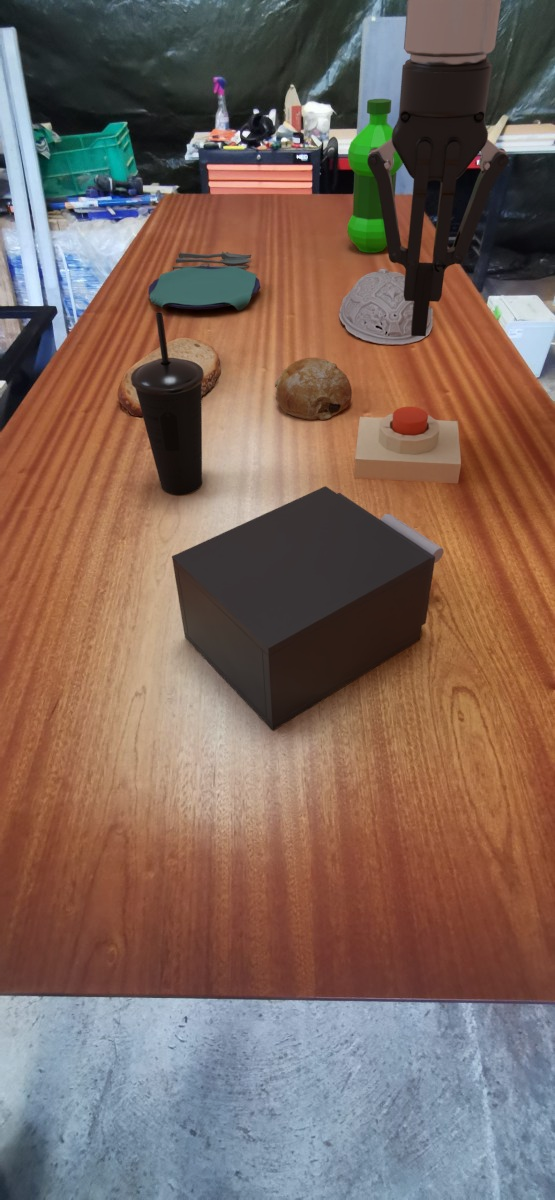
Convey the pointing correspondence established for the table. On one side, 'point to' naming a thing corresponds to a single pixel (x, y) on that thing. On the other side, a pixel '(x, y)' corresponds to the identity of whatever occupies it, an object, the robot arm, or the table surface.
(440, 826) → the table surface
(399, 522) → the drawer
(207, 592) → the cabinet
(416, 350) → the table surface
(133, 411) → the slice of bread
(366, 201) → the plastic bottle
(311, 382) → the bread roll
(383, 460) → the control block
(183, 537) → the table surface
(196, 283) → the cutlery set
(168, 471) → the drinking cup
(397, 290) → the grey ornate dome
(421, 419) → the button
